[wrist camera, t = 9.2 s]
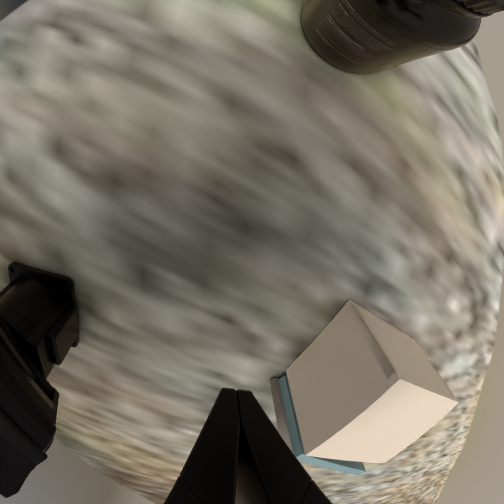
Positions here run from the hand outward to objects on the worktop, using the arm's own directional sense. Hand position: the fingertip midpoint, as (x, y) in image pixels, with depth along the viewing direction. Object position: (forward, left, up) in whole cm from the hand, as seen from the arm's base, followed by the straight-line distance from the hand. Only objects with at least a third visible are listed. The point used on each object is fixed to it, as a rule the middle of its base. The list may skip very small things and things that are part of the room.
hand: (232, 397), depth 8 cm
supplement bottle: (+4, +16, -12) cm, 21 cm away
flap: (+10, -13, -12) cm, 20 cm away
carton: (+12, -8, -12) cm, 19 cm away
